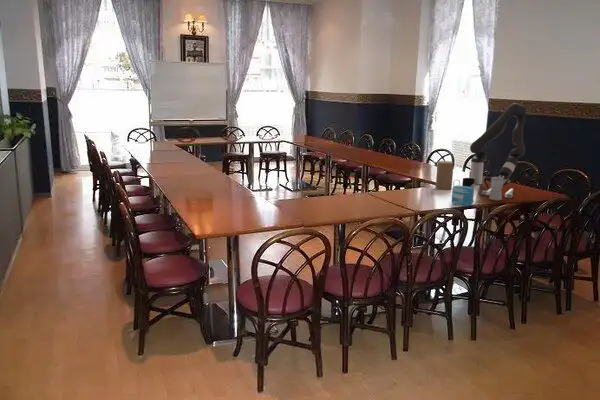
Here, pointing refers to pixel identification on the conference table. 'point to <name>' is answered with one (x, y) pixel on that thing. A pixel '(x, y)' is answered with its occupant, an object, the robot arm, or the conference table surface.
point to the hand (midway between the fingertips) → (495, 189)
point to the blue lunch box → (468, 184)
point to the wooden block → (444, 175)
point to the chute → (507, 194)
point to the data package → (462, 195)
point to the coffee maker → (495, 187)
